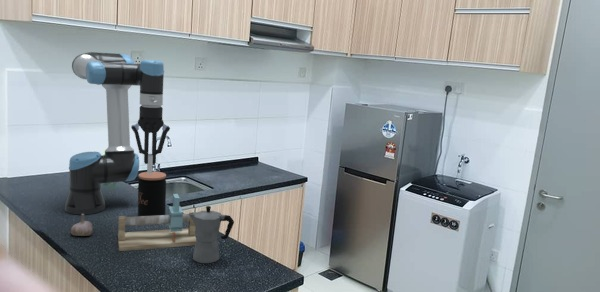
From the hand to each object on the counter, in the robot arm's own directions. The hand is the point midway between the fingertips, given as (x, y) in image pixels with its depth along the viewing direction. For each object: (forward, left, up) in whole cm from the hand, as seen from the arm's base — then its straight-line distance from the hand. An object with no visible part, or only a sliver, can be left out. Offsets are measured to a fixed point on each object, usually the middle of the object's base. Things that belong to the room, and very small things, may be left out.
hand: (149, 172), depth 165 cm
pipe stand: (+3, +3, -25) cm, 25 cm away
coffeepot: (+21, +18, -25) cm, 37 cm away
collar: (+3, +9, -20) cm, 22 cm away
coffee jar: (-22, +3, -25) cm, 33 cm away
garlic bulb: (-8, -22, -25) cm, 34 cm away
